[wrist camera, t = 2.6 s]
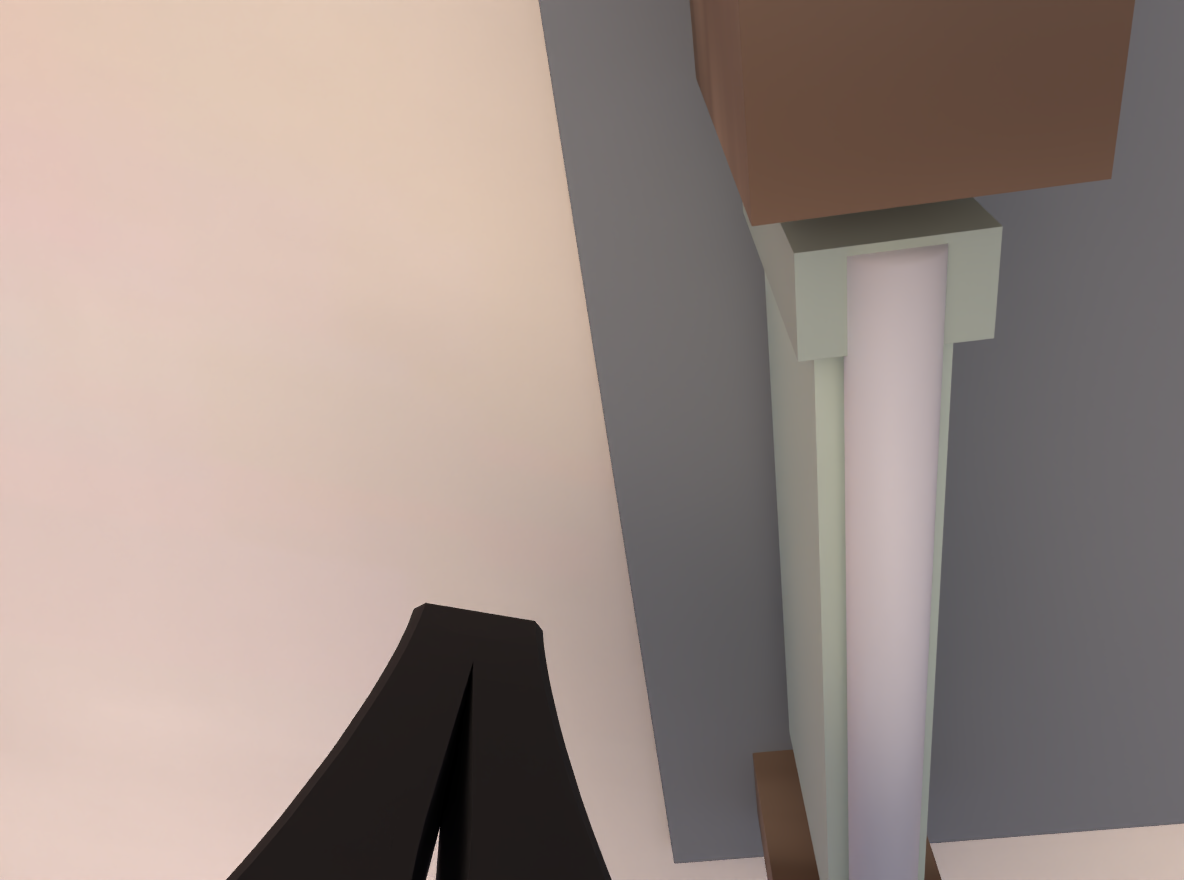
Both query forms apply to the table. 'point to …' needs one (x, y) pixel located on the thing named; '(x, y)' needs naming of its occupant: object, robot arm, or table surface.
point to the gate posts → (900, 150)
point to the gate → (867, 503)
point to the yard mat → (974, 457)
